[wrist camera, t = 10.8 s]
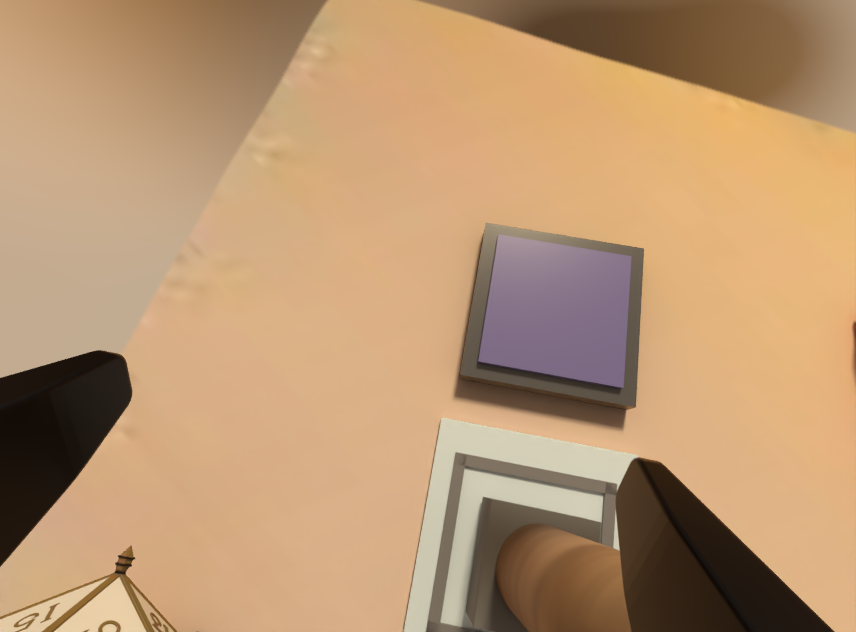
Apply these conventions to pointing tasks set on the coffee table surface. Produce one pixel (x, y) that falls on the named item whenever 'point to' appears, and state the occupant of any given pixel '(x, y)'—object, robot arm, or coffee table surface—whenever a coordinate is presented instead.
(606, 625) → the wooden handle on base
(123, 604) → the game die
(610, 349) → the ink pad
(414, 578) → the print card
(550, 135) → the coffee table surface
